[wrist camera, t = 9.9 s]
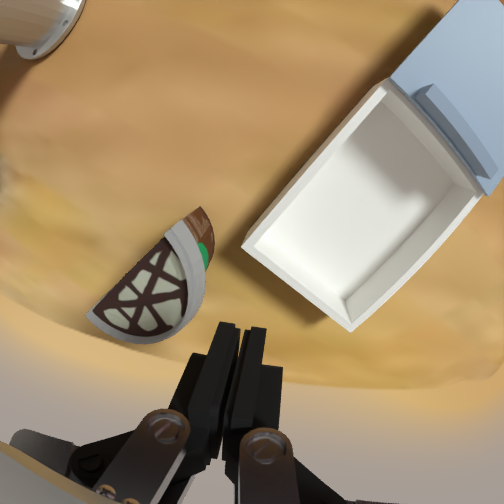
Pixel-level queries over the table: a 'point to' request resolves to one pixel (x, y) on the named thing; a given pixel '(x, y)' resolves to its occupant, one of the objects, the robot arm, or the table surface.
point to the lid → (463, 85)
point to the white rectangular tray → (365, 208)
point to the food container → (160, 286)
